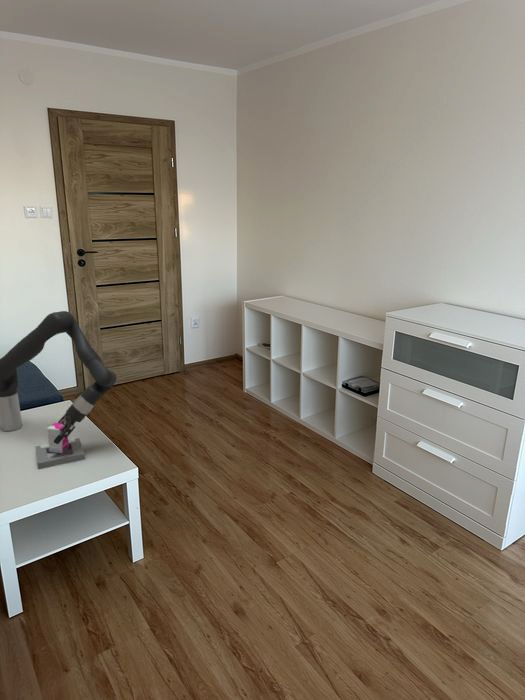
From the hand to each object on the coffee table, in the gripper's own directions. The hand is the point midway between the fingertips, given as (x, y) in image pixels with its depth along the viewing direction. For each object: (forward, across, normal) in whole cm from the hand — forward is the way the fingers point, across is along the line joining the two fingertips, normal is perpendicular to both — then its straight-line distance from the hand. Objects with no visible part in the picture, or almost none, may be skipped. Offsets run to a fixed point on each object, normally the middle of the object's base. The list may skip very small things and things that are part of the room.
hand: (54, 438), depth 209 cm
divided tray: (+5, +1, +7) cm, 8 cm away
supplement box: (+3, 0, +5) cm, 6 cm away
